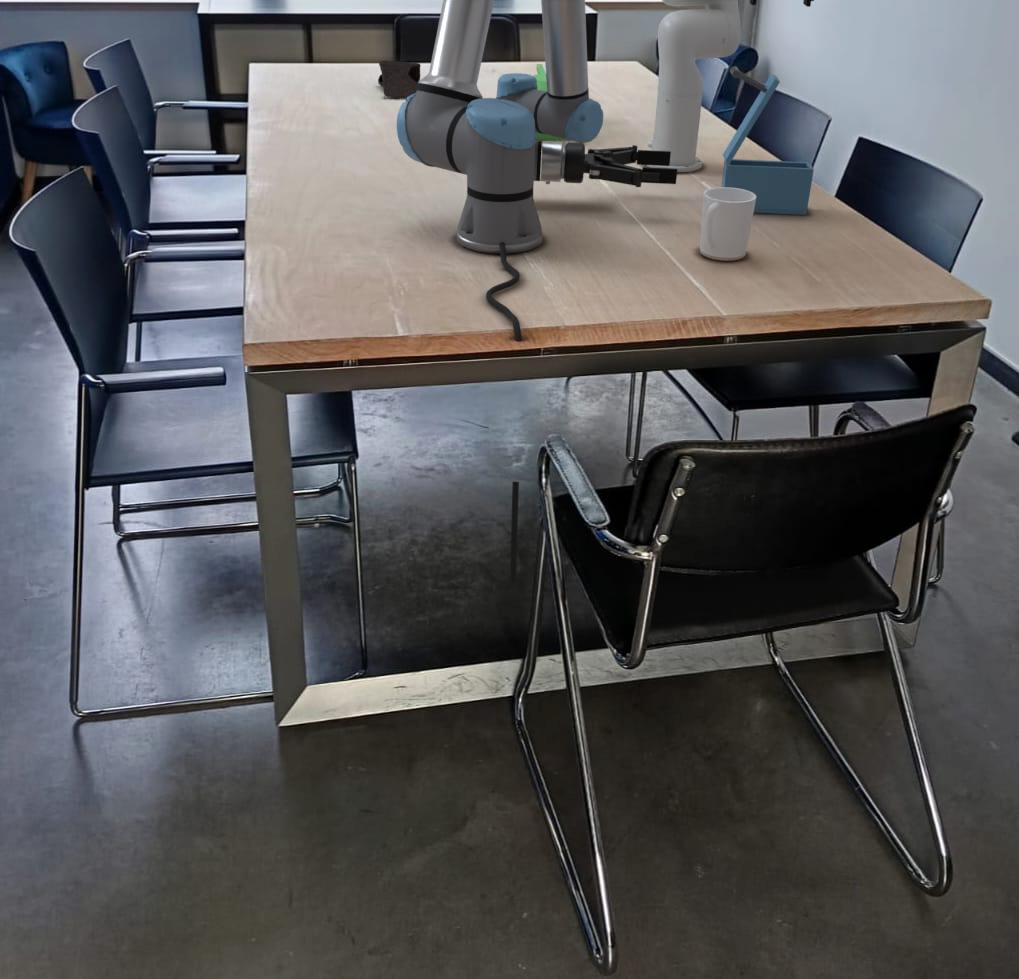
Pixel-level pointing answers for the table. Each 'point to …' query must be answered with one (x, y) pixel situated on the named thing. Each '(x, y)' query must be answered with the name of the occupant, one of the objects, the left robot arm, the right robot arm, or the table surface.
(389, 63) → the axe head
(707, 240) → the mug
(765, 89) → the lid
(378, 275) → the table surface
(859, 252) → the table surface
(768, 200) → the chest
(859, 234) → the table surface
